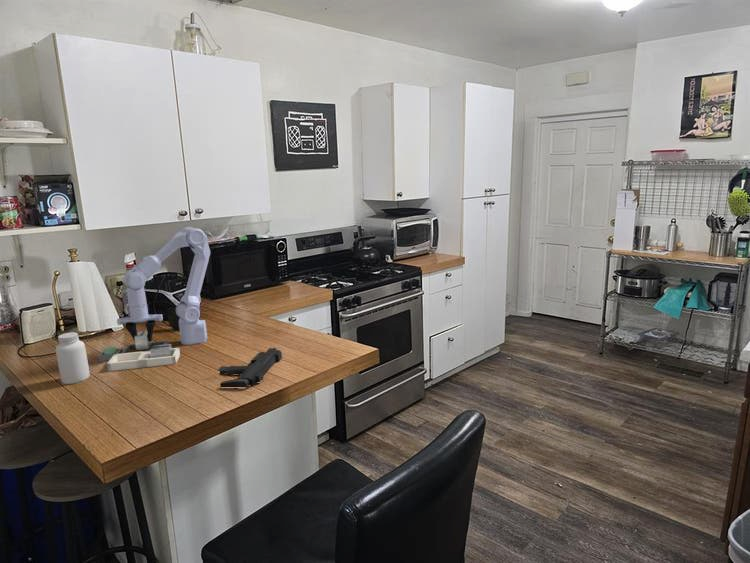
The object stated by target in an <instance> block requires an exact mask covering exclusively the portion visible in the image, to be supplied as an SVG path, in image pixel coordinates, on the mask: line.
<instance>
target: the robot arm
mask: <svg viewBox="0 0 750 563" xmlns="http://www.w3.org/2000/svg"><path fill="white" fill-rule="evenodd" d="M185 247H186V248H187V247H189V248H190V249H191V251H192V252H193V253H194V256H193V259H192V265H191V267H190V272H189V276H188V280H187V284H186V286H185V287H186V288H185V291H184V294H183V295H182V297H181V298H180V301H179V303H178V304H177V306H176V307H175V308H176V314H177V315H178V316H179V317H180V319H179V329H178V330H179V336H180V343H181V345H183V346H184V345H187V346H188V345H189V346H190V345H194V344H203V343H207V339H208V331H207V323H206V320H204V319H201V320H199V317H200V316H201V312H200V311H201V310H200V307H201V302H200V296H201V292H202V288H203V284H204V279H205V275H206V271H207V268H208V264H209V261H210V260H209V259H210V256H211V249H210V246H209V242H208V236H207V234H206V233H205V232H204V231H203V230H202V229H201V228H196V227H192V226H186V227H183V228H182V229H181V231H178V232H177V233H175V235H174V236H172V238H171V239H169V241H168V242H167V243H166V244H164V245H163V246H162V247H161V248H160V249H159V250H158V251H157V252H156V253H155V254H154V255H147V256H144V257H142V261H141V262H140V263H138V264H137V265H136V266H133V267H132V268H131V270H130V271H127V272H126V273H125V274H124V275H123V279H122V282H123V284H124V285H125V286H126V295H127V301H128V310H129V314H130V316H126V317H125V316H124V317H121V318H120V317H119V318H117V319H116V323H117V326H121V325H125V326H124V328H125V329H126V330H127V332H129V334H130V336H131V337H132V339H133V342H134V343H135V338H134V337H135V335H136V334H137V333H138V332H137V323H145V327H146V328H145V329H146V331H147V332H148V340H149V342H151V341H152V342H153V334H154V333H153V332H154V328H155V326H156V322H157V321H159V322H162V321H163V319H164V317H163V314H162V313H161V314H159V313H158V314H149V308H148V304H147V296H146V291H145V285H146V280H149V278H151V277H152V276H153V275H154V274H155V273H157V272H158V270H159V269H161V267H162V262H163V261H165V260H166V259H167V258H169V256H171V255H172V254H173V253H174V252H176V251H177V250H178V249H180V248H185ZM200 318H201V317H200Z"/></svg>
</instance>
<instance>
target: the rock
mask: <svg viewBox="0 0 750 563" xmlns="http://www.w3.org/2000/svg"><path fill="white" fill-rule="evenodd" d="M166 317H167V320H168V325H169V326H170V328H171V329H176V330H180V329H179V319H180V317H179V316H178V315H177V314H176V307H169V308H167V316H166ZM199 320H202V318H201V317H199Z"/></svg>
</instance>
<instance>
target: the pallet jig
mask: <svg viewBox="0 0 750 563" xmlns="http://www.w3.org/2000/svg"><path fill="white" fill-rule="evenodd" d="M180 349H181V348H180V347H174V348H173V347H172V353H173V356H168V357H158V358H151V353H150V350H145V351H143V350H142V351H134V352H128V353H123V354H114V355H113V357H112V358H111V359H110V360H109V361H107V363H106V367H107V372H114V371H123V370H132V369H133V370H134V369H143V368H152V367H159V366H161V367H162V366H171V365H177V364H178V360H179V358H180V356H181V351H180Z"/></svg>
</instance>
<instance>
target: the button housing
mask: <svg viewBox="0 0 750 563" xmlns="http://www.w3.org/2000/svg"><path fill="white" fill-rule="evenodd" d="M122 351H123V348H122V347H121V348H119V347H118V348H117V353H116V354H121V352H122ZM113 355H114V354H107V355H104V349H103V351H102V352H101V353H100V354H99V355H98V361H99V364H103V363H104V362H109V360H110V359H111V358H112V357H113Z"/></svg>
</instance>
